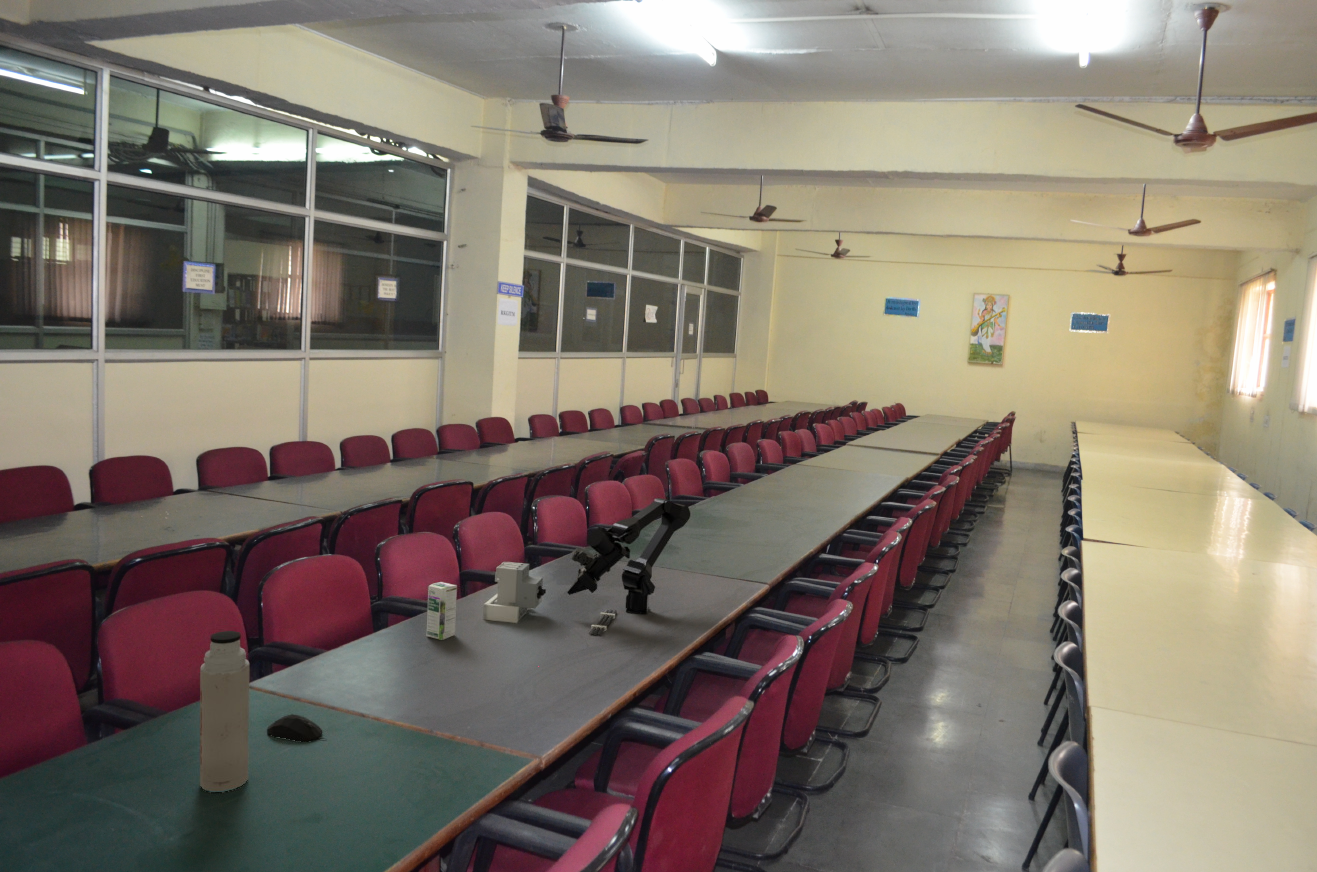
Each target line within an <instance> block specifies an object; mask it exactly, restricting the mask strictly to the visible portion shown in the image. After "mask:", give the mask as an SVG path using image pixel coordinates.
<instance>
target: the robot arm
mask: <svg viewBox="0 0 1317 872" xmlns="http://www.w3.org/2000/svg"><path fill="white" fill-rule="evenodd" d="M691 514H692V513H691V510H690V508H689V505H685V504H679V503H675V502H672V501H670V500H669V499H665V498H660V497H657V498H655V499H654V500H653V502H651V503H649V504H648V505H647V506H646V507H644V508H643V509H641V510H640V511H639V512H637V513H636V514H634V515H633V516H631V517H628V518H624V519H620V520H618V521H616V522H615V523H613V524H612V526H611V527H608V529H607V528H605V527H604V526H600V525H598V527H597V528H596V529H594V530H592V531H591V532H590V533H588V535H587V538H586V545H588V546H589V547H590V548H591V549H593V550H594V551H595V552H596V553H594V554H593V553H589V551H586V550H584V549H583V548H581V547H576V548H575V550H574V552H573V553H572V556H571V560H572V561H574V562H577V563H579V565H580V566H581V567H582V566H583V567H582V568H578V570H577V577H576V579H575V580H574V582H573V583H572V584H571V586H570V587H569V589H568V590H567V591H566V592H567V594H568V595H569V596H570V595H573V594H576V593H580V592H584V591H587V590H588V591H589V592H590V593H591V594H593V593H595V592H596V591H597V590H598V582H600V580H601V578H602V577H603V576H604V575H605V574H606V573H610V572H611V568H613V567H614V566H615V565H617V563H619V561H621V560H622V559H623V558H627V560H628V562H627V564H626V566H625V567H624V568H623V572H622V574H621V581H622V585H623V590H626V591H627V594H626V596H625V609H626V610H625V612H626V613H632V614H633V613H634V614H642V615H647V614H648V612H649V610H650V606H649V602H650V595H652V594H654V593H655V588H656V586H655V584H654V583H653V582H652V580H651V579H652V577H653V573H652V572H653V567H654V565H655V563H656V562H657V560H658V558H660V557H659V556H660V555H661V554H662V551H664V549H665V547H666V546H667V544H668V542H669V541H670V540H671V537H672V536H673V534H675V533H676V531H678V530H679V529H682V528H683V527H684V526H685V525H686V524H687V523H688V521H689V520H690V518H691ZM659 517H661V518H660V519H661V520H660V521H661V523H660V525H659V527H658V528H657V529H656V531H655V533H654V534H653V536H652V537H651V539H650V540H649V542H648V543H647V545H646V546H645V548H644V549H643V551H642V553H641V554H640V556H639V557H638V558H637V559H636V560H634V559H630V558H631V554H630V553H631V549H630V548H629V546H624V545H622V544H621V543H624V544H627V545H631V544H633V543H634V542H635V541H636V540H637V539H638V538H639V537H640V534H641V531H643V529H645V528H646V527H647V526H649V525H650V524H651V523H653V522H654V521H655V520H657V519H658V518H659ZM629 559H630V560H629Z"/></svg>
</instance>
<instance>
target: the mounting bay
mask: <svg viewBox="0 0 1317 872" xmlns="http://www.w3.org/2000/svg"><path fill="white" fill-rule="evenodd" d="M496 600H497V593H496V594H495V595H494V596H492V597H491V598H490V599H488V600H487V601H486V602H485V603H483V616H482V618H483V619H482V620H487V621H495V622H503V623H514V624H518V623H519V619H518V613H519V607H515V606H506V605H496V604H494V601H496ZM531 610H532V608H527V611H531Z"/></svg>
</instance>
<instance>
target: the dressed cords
mask: <svg viewBox="0 0 1317 872" xmlns="http://www.w3.org/2000/svg"><path fill="white" fill-rule="evenodd" d="M617 613H618V611H617V610H616V609H614V610H613V609H607V608H606V609H605V610H604V611H603V612H600V613H599V614H600V615H599V616H600V617H599V618H598V619H597V620H596V622H595V623H594V624H591V626H590V630H589V631H588V634H589V636H591V635H593V636H599V637H600V636H602V634H603V633H604V632H606V631H608V630H607V629H608V628H607V627H608V626H609V624H611V621H612V620H614V619H615V618H616V614H617Z"/></svg>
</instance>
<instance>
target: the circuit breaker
mask: <svg viewBox="0 0 1317 872" xmlns="http://www.w3.org/2000/svg"><path fill="white" fill-rule="evenodd" d="M495 569H496V571H495V574H494V575H495V576H494V582H496V583H497V593H496V594H497V600H496V601H494V604H496V605H506V606H515V607H519V613H518V620H521V619H522V618H523V617H524V615H526V614H527V613H528V610H527V608H531V609H536V608H537V607H538V606H539V605H540V604H541V603H542V602H543V596H544V595H545V594H546V591H547V589H544V588H543V584H544V583H543V579H544V578H543V576H531V575H530V563H523V562H511V561H503V562H501V564H500V565H497V567H495Z"/></svg>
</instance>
